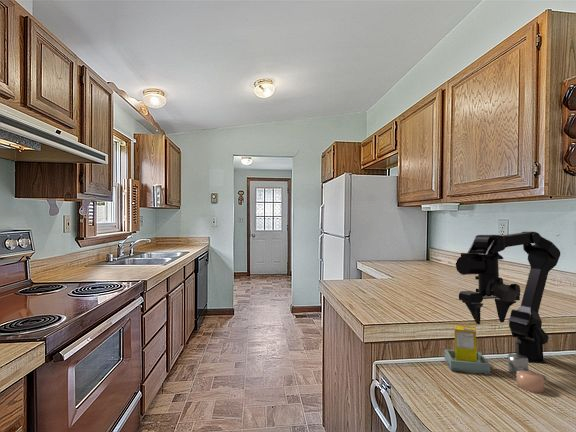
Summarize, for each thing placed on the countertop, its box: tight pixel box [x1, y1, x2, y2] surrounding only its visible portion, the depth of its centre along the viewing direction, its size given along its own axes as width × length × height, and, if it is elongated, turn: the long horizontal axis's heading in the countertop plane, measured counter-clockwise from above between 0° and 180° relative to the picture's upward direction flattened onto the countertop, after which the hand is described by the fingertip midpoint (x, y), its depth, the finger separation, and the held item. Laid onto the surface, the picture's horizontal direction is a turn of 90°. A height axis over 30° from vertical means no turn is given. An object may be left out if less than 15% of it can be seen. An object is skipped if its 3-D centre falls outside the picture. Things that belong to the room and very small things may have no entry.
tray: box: [444, 348, 491, 375], centre depth 105 cm, size 11×11×3 cm
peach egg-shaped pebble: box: [516, 370, 545, 394], centre depth 90 cm, size 6×6×4 cm
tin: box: [507, 353, 530, 376], centre depth 101 cm, size 5×5×4 cm
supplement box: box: [454, 324, 478, 362], centre depth 106 cm, size 6×6×11 cm
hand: (490, 323), depth 107 cm, fingers open, 9 cm apart
